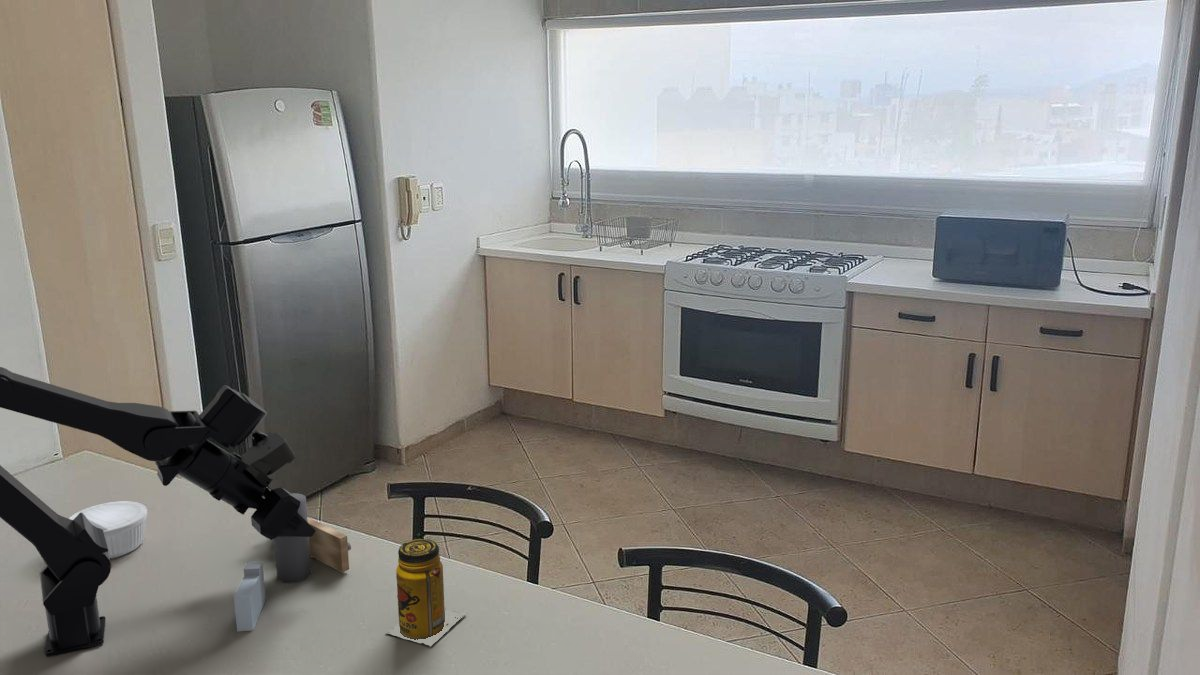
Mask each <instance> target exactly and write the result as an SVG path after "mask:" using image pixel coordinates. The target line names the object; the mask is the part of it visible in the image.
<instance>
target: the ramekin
mask: <svg viewBox="0 0 1200 675" xmlns="http://www.w3.org/2000/svg"><path fill="white" fill-rule="evenodd" d="M79 513H83V514H84V515H85V517H86V518H87V519H88V520H89V522H90V523H91V524H92V525H94V526H95V527H97V528H100V529H103V531H104V535H105V539H106V543H107V547H108V554H109V558H111V559H115V558H119V557H121V556H125V555H127V554H129V553H131V552H133V551H134V550H136V549H137V548H139V547H140V546H141V544H142V543H143V542H144V540H145V537H146V526H147V518H148V507H146V506H145V505H144V504H143V503H140V502H136V501H131V500H122V501H121V500H120V501H112V502H111V501H110V502H105V503H100V504H96V505H93V506H90V507H87V508H84V509H82V510H80V511H78V512H76V513H74V514H73V515H71V516H70V517H68V519H71V520H74V519H75V518H76V517H77V516H78V514H79Z"/></svg>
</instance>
